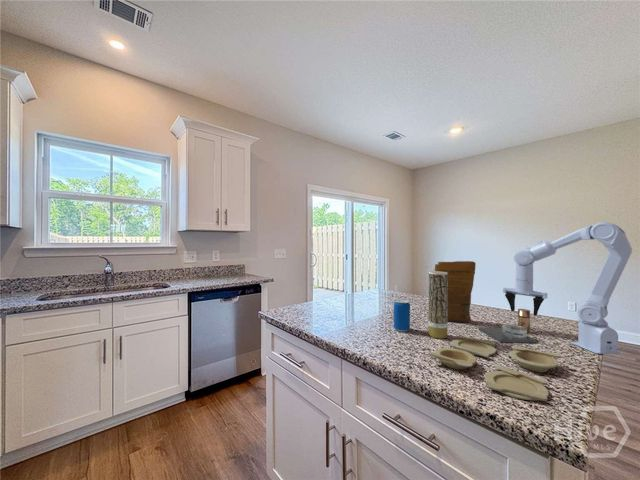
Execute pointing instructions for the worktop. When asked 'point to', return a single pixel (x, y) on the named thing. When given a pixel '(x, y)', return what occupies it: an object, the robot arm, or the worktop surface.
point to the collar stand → (508, 334)
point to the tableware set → (506, 378)
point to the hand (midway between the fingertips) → (523, 312)
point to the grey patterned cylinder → (438, 304)
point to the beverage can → (401, 315)
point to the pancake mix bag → (458, 288)
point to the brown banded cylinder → (524, 319)
